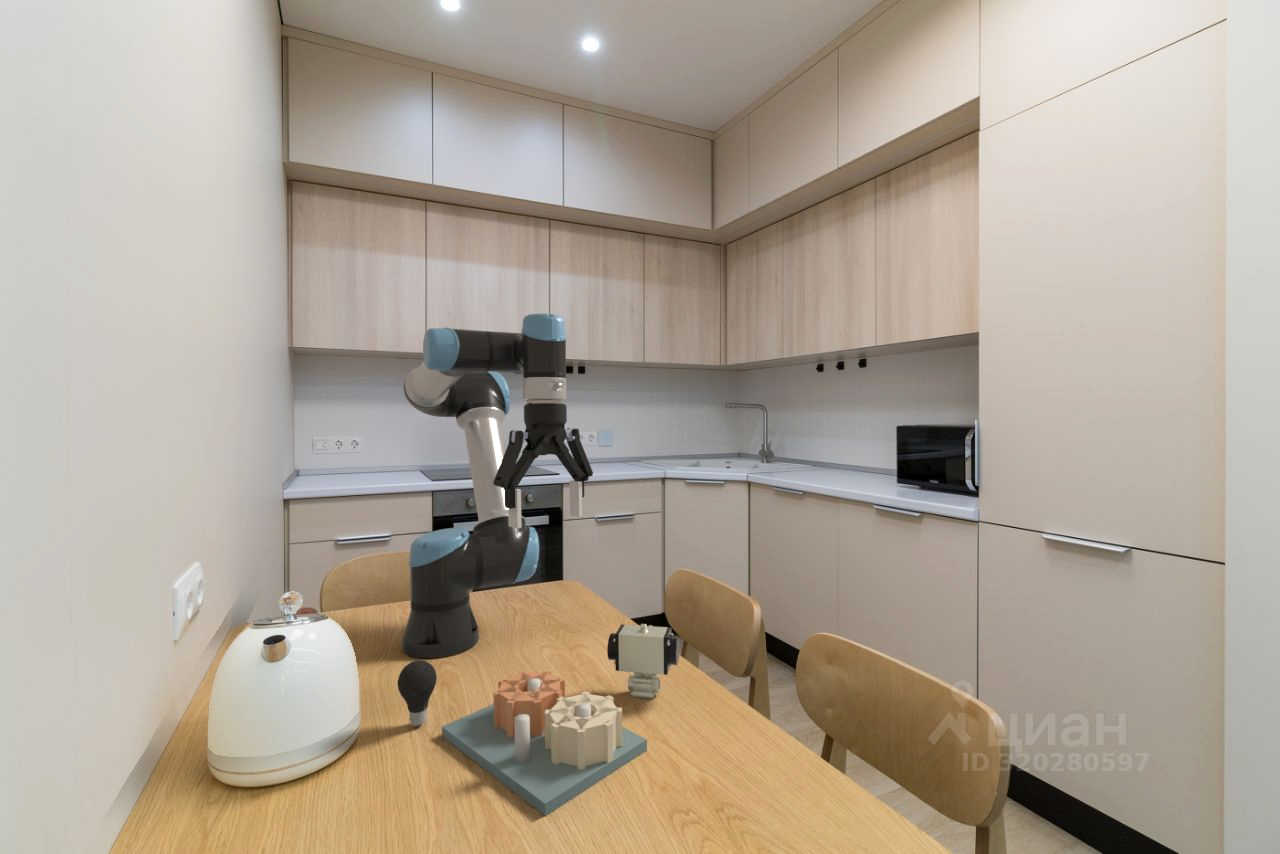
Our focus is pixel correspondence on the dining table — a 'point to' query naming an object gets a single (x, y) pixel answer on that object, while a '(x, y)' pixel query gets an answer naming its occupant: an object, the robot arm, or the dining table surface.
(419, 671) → the light bulb
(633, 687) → the pneumatic valve
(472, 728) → the gear board
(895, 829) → the dining table surface
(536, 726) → the loose gear
